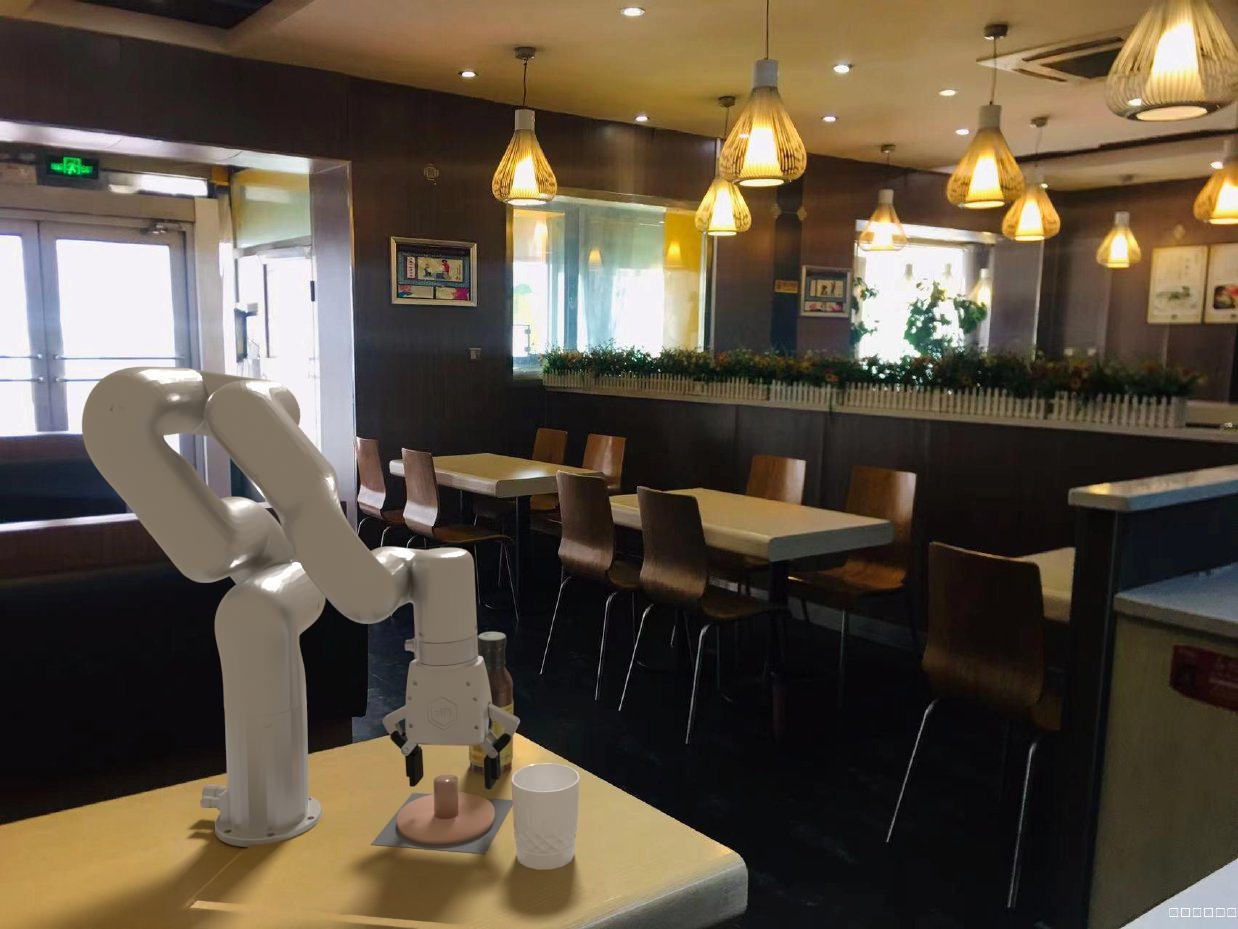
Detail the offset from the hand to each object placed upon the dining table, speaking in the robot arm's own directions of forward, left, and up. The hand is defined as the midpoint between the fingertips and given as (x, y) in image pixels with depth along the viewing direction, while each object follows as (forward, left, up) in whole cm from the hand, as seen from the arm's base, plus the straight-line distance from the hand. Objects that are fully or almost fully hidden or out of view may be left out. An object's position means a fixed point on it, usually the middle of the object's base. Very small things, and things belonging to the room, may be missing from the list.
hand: (453, 783), depth 117 cm
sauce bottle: (0, +17, -6) cm, 18 cm away
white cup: (+13, -6, -6) cm, 16 cm away
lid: (-1, 0, -5) cm, 5 cm away
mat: (-1, 0, -6) cm, 6 cm away
